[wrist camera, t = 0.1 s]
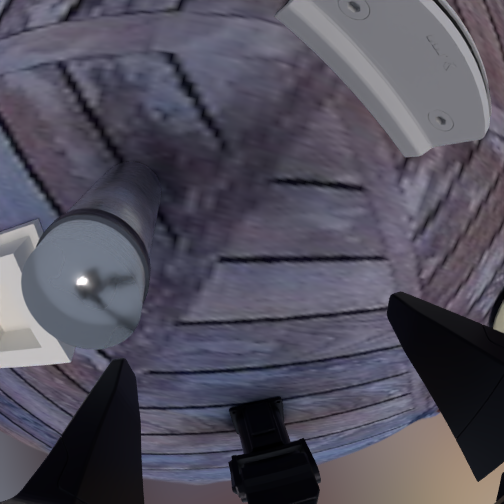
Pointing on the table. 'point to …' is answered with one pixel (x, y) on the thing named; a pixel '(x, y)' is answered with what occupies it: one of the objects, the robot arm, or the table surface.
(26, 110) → the table surface
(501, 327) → the handbell
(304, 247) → the table surface
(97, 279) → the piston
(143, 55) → the table surface
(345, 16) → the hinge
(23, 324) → the white square hollow block
